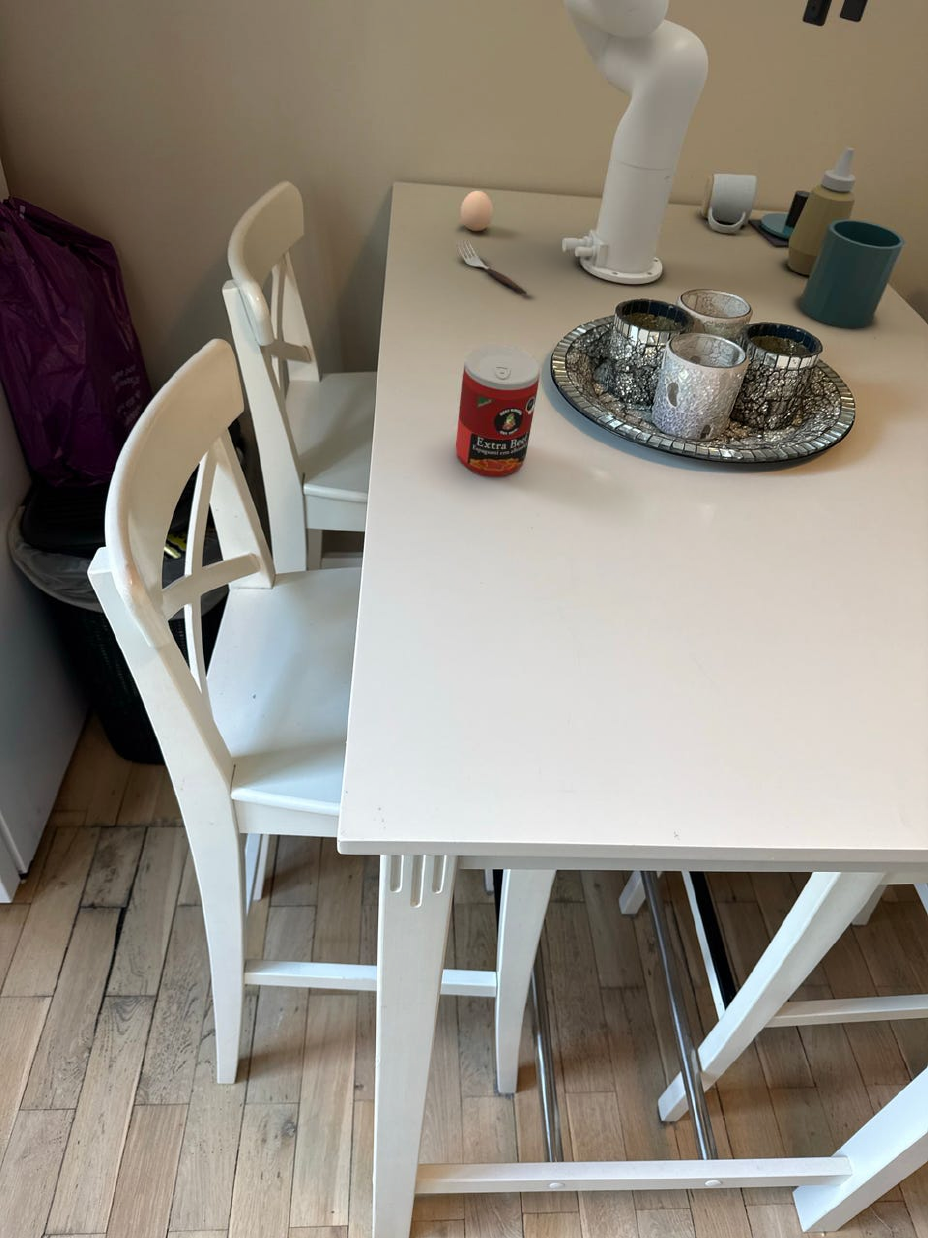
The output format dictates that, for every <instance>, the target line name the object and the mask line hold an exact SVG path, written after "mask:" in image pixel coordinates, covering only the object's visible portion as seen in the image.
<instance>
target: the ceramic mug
mask: <svg viewBox="0 0 928 1238" xmlns="http://www.w3.org/2000/svg"><path fill="white" fill-rule="evenodd" d="M757 186H758V177H757V176H756V175H751V174H735V173H734V174H732V173H714V174H711V175H709V176H708V178H707V179H706V183H705V188H704V192H703V196H702V202H701V208H700V209H701V211H700V214H701V216H702V217H703V218H705V219H707V220H708V223H709V226H710V227H711V228H712V229H713V230H714V231H716V232H718V233H721V234H732V233H735V232H737V231H738V230H740V228H741V227H742V226H747V224H748V223H749V222H748V220H750V217H751V214H752V212H753V207H754V204H755V200H756V193H757V188H758V187H757ZM719 222H723V223H729V224H731V225H727V224H721V223H719Z"/></svg>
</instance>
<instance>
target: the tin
mask: <svg viewBox="0 0 928 1238" xmlns="http://www.w3.org/2000/svg"><path fill="white" fill-rule="evenodd" d="M905 245H906V241H905V239H904V237H903V236H902V235H901V234H899V233H898V232H896V231H895V230H893V229H891V228H888V227H886V226H884V225H880V224H877V223H873V222H870V221H867V220H865V221H864V220H860V219H851V218H849V219H841V220H836V221H833V222H831V223H830V224H829V225H828V228H827V231H826V233H825V236H824V239H823V242H822V244H821V247H820V250H819V252H818V255H817V258H816V260H815V263H814V266H813V268H812V271H811V274H810V276H809V275H808V276H809V277H808V279H807V282H806V285H805V288H804V290H803V292H802V295H801V298H800V303H799V307H800V308H801V310H802V311H803V313H805V314H806V316H809V317H810V318H812V319H813V320H815V321H818V322H821V323H823V324H826V325H829V326H834V327H838V328H844V329H860V328H864V327H866V326H868V325H869V324H870V323H871V321H872V319H873V318H874V315H875V313H876V311H877V309H878V307H879V304H880V302H881V299H882V297H883V295H884V293H885V291H886V288H887V286H888V284H889V282H890V278H891V277H892V274H893V273H894V270H895V267H896V265H897V263H898V261H899V258H900V256H901V254H902V252H903V250H904V247H905Z"/></svg>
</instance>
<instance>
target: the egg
mask: <svg viewBox="0 0 928 1238" xmlns="http://www.w3.org/2000/svg"><path fill="white" fill-rule="evenodd" d="M493 209H494V208H493V204H492V201H491V199H490V197H489V196H488V195H487V194H486V193H485V192H484V191H481V190H474V191H471V192H469V194H467V196H466V197H465V198H464V199H463V201H462V204H461V207H460V219H461V221H462V223H463V226H465V227H466V228H467V229H468V230H469V231H473V232H480V231H483V230H484V229H486V228H487V227H488V226H489V225H490V223H491V221H492V219H493V216H494V215H493V214H494V210H493Z"/></svg>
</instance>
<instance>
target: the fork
mask: <svg viewBox="0 0 928 1238" xmlns="http://www.w3.org/2000/svg"><path fill="white" fill-rule="evenodd" d="M463 243H464V245H465V247H464V245H463ZM463 243H462V241H460V245H461V247H460V246H459V243H458V242H456V246H457V248H458V250H459V253H460V254H461V257H462V258H463V260H464V262H465V263H466V265H468V266H469V267H472V268H473V267H474V268H483V269H485V270H486V271H487V272H489V273H490V275H492V277H494V278H495V279H497V280H498V281H499V282H502V283H503V284H505V285H506V286H509V287H510V288H512V289H514V290H516V291H518V292H519V293H522V294H523V295H528V292H527V291H526V290H525V289H524V288H522V287H520V286H519V285H518V284H517V283H515V282H514V281H513V280H511V279H510V278H509V277H507V276H506V275H505V274H502V273H500V272H499V271H496V270H495V269H492V268H490V267H488V266H486V265H485V264H484V262H483V261H482V260H481V259H480V258H479V256H478V255H477V253H476V251H475V250H474V248H473V246H472V245H471V243H470V241H469V240H467V243H468V245H469V247H470V248H469V247H468V245H467V243H466V241H463ZM461 248H462V250H463V251H462V250H461ZM465 248H466V249H467V250H466V249H465ZM464 254H465V255H464Z"/></svg>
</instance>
